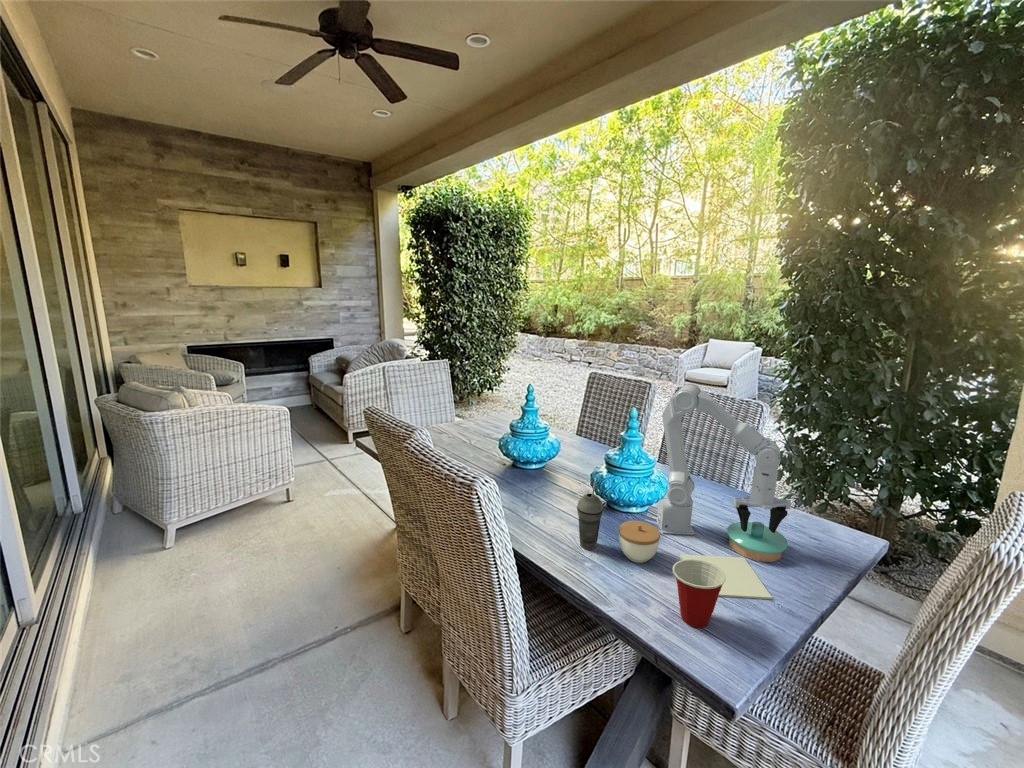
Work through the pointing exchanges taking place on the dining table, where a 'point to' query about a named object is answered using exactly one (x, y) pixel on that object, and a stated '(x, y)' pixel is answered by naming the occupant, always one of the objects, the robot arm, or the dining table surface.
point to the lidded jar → (638, 540)
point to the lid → (757, 538)
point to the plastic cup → (697, 590)
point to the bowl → (754, 553)
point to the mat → (735, 577)
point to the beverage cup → (589, 519)
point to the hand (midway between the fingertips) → (757, 530)
